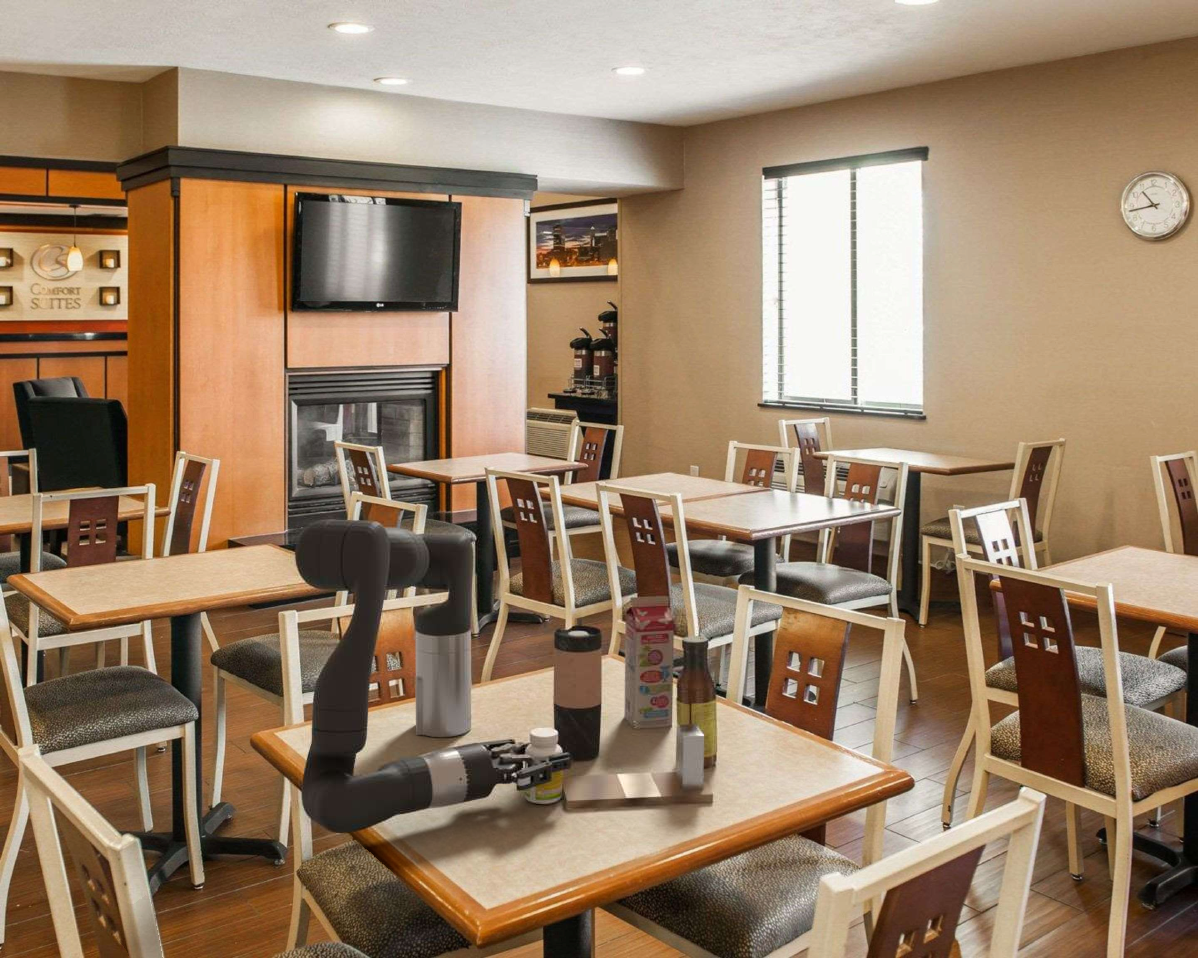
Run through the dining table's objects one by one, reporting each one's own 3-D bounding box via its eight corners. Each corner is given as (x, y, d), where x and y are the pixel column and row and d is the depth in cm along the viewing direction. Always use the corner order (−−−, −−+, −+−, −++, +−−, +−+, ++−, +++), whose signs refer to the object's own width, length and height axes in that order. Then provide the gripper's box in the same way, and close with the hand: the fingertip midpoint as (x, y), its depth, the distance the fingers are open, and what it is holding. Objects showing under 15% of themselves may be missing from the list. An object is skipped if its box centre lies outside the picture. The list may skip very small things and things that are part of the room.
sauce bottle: (722, 759, 182) (725, 636, 179) (708, 772, 176) (711, 646, 174) (683, 752, 185) (685, 631, 182) (669, 765, 179) (671, 640, 177)
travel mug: (595, 763, 179) (596, 638, 177) (548, 759, 181) (548, 635, 178) (605, 747, 187) (606, 626, 184) (559, 743, 188) (560, 623, 186)
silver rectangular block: (682, 789, 166) (683, 736, 165) (675, 776, 171) (676, 724, 170) (703, 788, 167) (704, 735, 166) (695, 775, 172) (696, 724, 171)
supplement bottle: (569, 795, 166) (570, 730, 165) (547, 807, 162) (548, 741, 160) (538, 786, 169) (539, 722, 168) (516, 798, 165) (517, 733, 163)
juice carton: (624, 716, 202) (626, 593, 199) (660, 713, 204) (662, 591, 201) (634, 729, 196) (636, 602, 193) (672, 726, 197) (674, 600, 194)
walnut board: (566, 808, 162) (566, 800, 162) (560, 784, 171) (560, 776, 171) (712, 802, 165) (712, 793, 165) (698, 778, 174) (699, 770, 174)
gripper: (476, 766, 150) (586, 743, 160) (430, 733, 162) (534, 713, 171) (476, 821, 151) (585, 795, 160) (430, 784, 163) (534, 762, 172)
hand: (558, 753), depth 166 cm, fingers closed on supplement bottle, 5 cm apart
